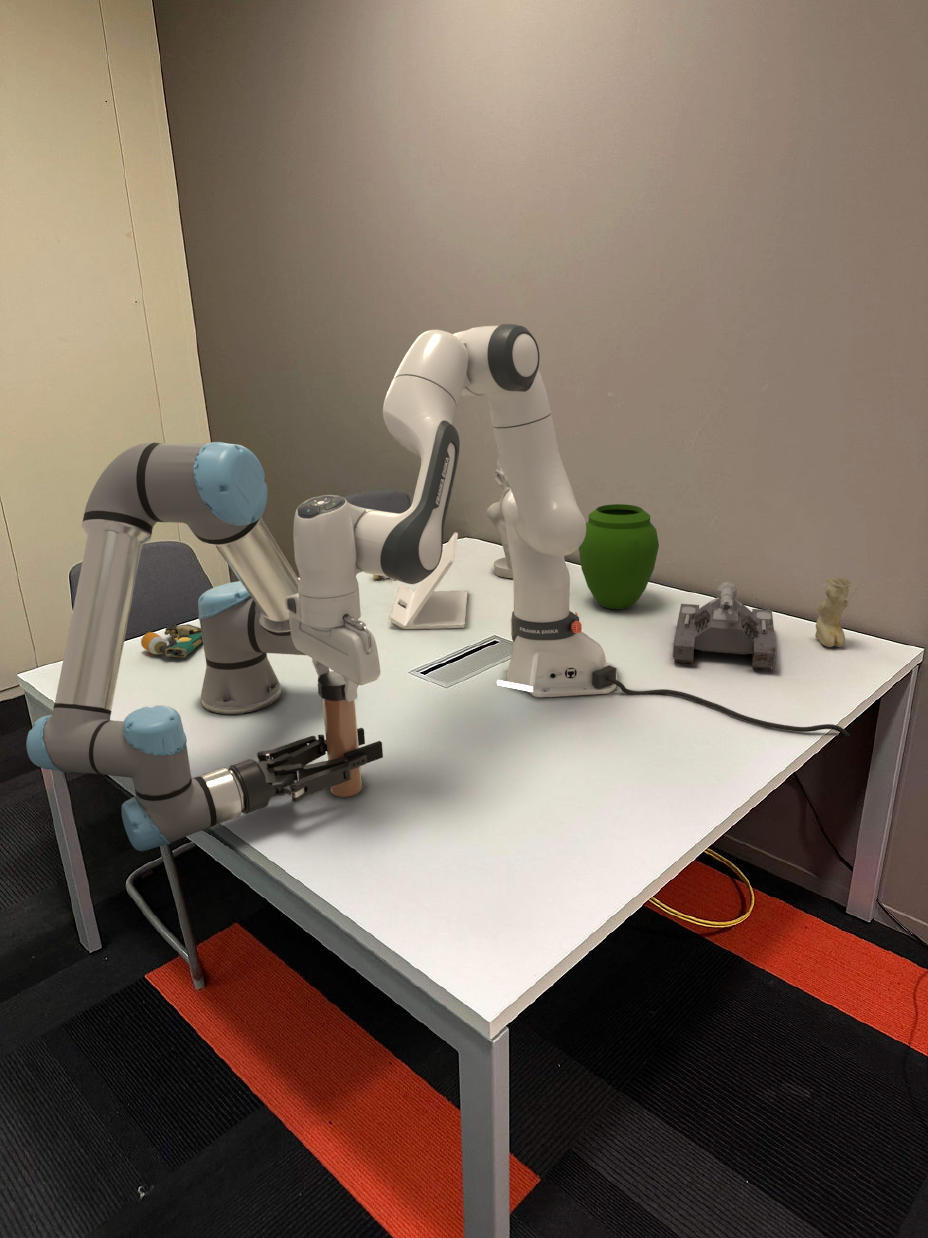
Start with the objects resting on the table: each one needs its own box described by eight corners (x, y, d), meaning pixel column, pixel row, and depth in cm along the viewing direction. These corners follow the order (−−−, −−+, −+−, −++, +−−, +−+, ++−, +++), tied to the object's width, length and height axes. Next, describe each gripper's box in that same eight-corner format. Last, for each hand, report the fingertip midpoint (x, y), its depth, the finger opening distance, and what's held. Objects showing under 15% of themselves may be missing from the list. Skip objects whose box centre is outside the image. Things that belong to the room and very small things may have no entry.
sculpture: (821, 649, 184) (830, 583, 179) (808, 637, 191) (816, 573, 185) (848, 649, 184) (858, 582, 179) (834, 636, 191) (843, 572, 185)
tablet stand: (467, 593, 225) (465, 531, 219) (465, 628, 202) (462, 559, 196) (399, 594, 226) (395, 532, 220) (388, 629, 203) (384, 560, 197)
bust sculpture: (503, 593, 225) (502, 460, 212) (483, 567, 247) (480, 445, 234) (562, 587, 228) (563, 456, 215) (536, 562, 250) (536, 441, 237)
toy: (679, 623, 201) (683, 562, 196) (769, 630, 195) (776, 567, 190) (671, 666, 178) (676, 598, 173) (773, 675, 173) (781, 605, 167)
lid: (326, 704, 128) (324, 689, 127) (313, 690, 132) (312, 675, 132) (362, 695, 130) (361, 680, 129) (348, 681, 135) (347, 667, 134)
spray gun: (181, 632, 206) (230, 643, 201) (128, 653, 192) (180, 665, 186) (179, 615, 205) (229, 625, 199) (126, 635, 191) (178, 647, 185)
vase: (599, 587, 227) (601, 497, 218) (668, 600, 216) (673, 505, 208) (562, 608, 212) (564, 513, 204) (634, 623, 202) (639, 523, 193)
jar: (337, 800, 134) (327, 690, 127) (326, 785, 138) (315, 678, 132) (366, 791, 136) (358, 683, 130) (355, 777, 141) (346, 671, 134)
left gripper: (215, 787, 133) (346, 741, 146) (263, 841, 120) (403, 785, 132) (209, 745, 131) (343, 702, 143) (256, 795, 117) (400, 743, 130)
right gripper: (387, 620, 121) (393, 707, 126) (314, 586, 136) (322, 666, 141) (349, 631, 117) (356, 721, 122) (278, 595, 132) (288, 677, 137)
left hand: (371, 742), depth 138 cm, fingers closed on jar, 5 cm apart
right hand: (337, 691), depth 131 cm, fingers closed on lid, 6 cm apart
